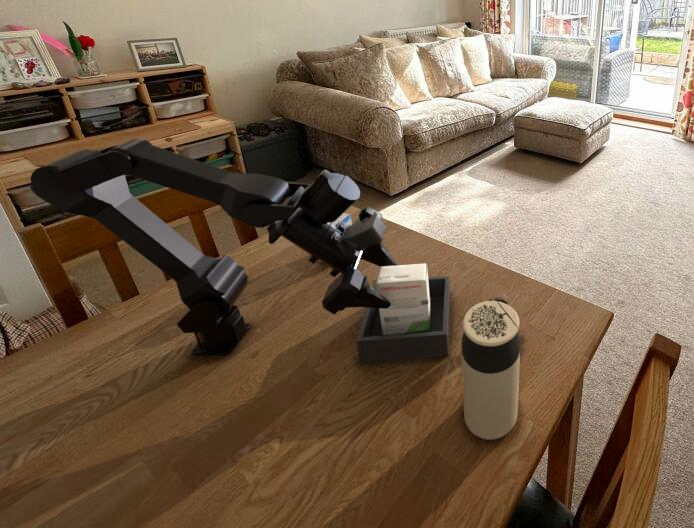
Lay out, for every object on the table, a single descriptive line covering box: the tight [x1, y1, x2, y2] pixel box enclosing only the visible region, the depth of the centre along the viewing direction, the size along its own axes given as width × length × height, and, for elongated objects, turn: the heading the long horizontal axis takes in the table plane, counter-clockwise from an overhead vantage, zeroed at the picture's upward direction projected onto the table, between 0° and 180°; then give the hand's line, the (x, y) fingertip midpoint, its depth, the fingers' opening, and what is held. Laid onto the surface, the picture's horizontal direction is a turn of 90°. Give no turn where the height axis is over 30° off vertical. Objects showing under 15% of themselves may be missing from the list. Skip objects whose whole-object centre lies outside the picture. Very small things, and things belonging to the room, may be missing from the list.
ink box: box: [375, 262, 431, 335], centre depth 73 cm, size 9×5×12 cm, turn 98°
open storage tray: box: [356, 275, 451, 364], centre depth 74 cm, size 15×15×5 cm
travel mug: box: [461, 300, 521, 440], centre depth 57 cm, size 8×8×18 cm
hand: (393, 286), depth 71 cm, fingers open, 9 cm apart
